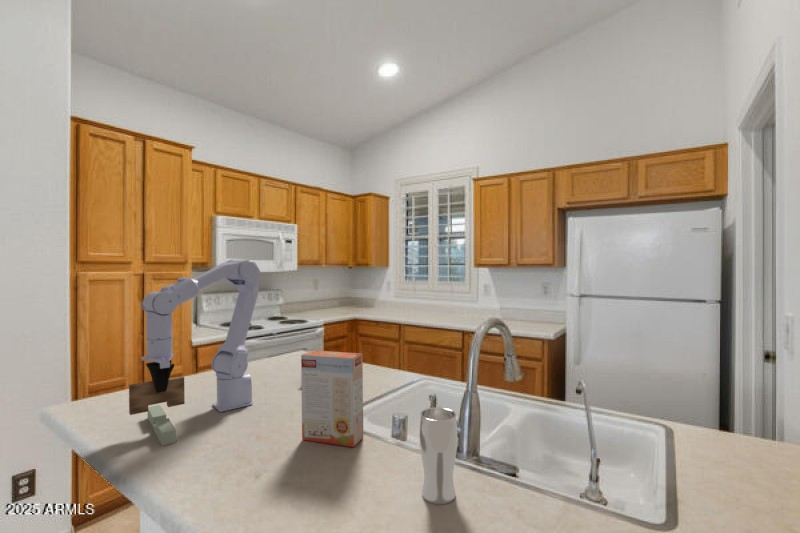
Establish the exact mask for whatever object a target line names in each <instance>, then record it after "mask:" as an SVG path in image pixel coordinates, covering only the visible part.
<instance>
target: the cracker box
mask: <svg viewBox="0 0 800 533" xmlns="http://www.w3.org/2000/svg"><path fill="white" fill-rule="evenodd" d="M300 357H301V359H300V361H301V363H300V364H301V366H300V368H301V371H300V372H301V377H300V378H301V381H300V382H301V439H302V440H303V441H308V442H314V443H321V444H322V443H323V444H328V445H329V444H330V445H336V446H342V447H343V446H344V447H347V448H348V447H349V448H354V447H355V446H357V445H358V443H360V441H361V440H363V438H364V384H363V383H364V382H363V381H364V379H363V378H364V375H363V373H364V372H363V371H364V370H363V364H364V363H363V353H360V352H358V353H356V352H346V351H345V352H341V351H331V350H330V351H328V350H314V349H313V350H310V351H308V352H305V353H302V354H301V356H300Z"/></svg>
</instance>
